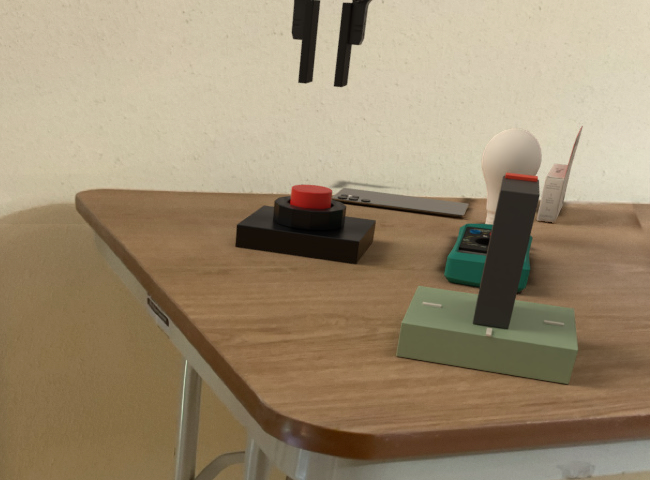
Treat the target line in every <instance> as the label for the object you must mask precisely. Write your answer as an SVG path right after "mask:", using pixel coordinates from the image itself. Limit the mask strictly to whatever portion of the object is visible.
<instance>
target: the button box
mask: <svg viewBox="0 0 650 480" xmlns="http://www.w3.org/2000/svg"><path fill="white" fill-rule="evenodd" d="M290 200H291V195H287V196H280V197H279V196H278V197H277V198H276V199H274V203H273V206H272V205H262V206H261V207H260V208H258V209H257V210H255V211H254V212H253V213H251V214H250V215H248V216H246V217H245V218H244V219H242V220H241V221H239V222H238V223H237V224H236V231H235V246H234V247H235V248H239V249H246V250H252V251H260V252H266V253H272V254H281V255H287V256H293V257H301V258H308V259H314V260H323V261H327V262H337V263H343V264H349V265H358V263H359V262H360V260H361V259H362V257H363V256H364V255H365V253H366V252H367V251H368V249H369V248H370V246H371V245H372V244H373V242H374V238H375V237H374V236H375V231H376V225H377V224H376V223H377V220H376V219H370V218H362V217H354V216H347V205H345V204H344V202H339V201H335V200H331V208H325V209H312V208H304V207H298V206H294V205H291V204H290Z"/></svg>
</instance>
